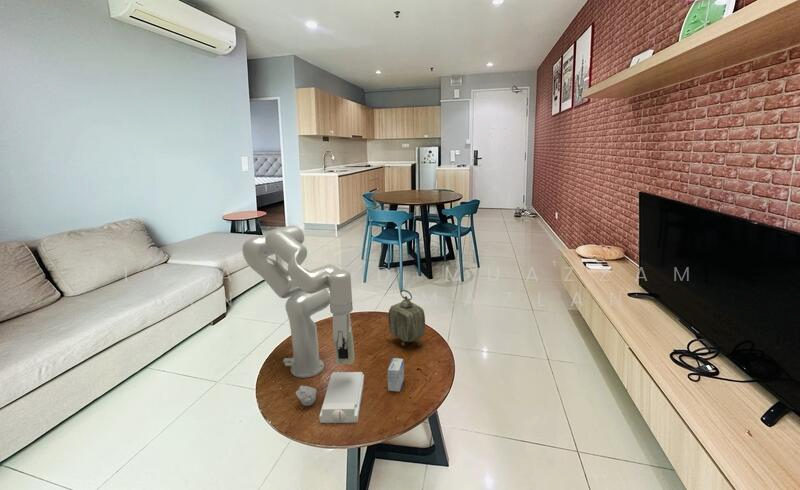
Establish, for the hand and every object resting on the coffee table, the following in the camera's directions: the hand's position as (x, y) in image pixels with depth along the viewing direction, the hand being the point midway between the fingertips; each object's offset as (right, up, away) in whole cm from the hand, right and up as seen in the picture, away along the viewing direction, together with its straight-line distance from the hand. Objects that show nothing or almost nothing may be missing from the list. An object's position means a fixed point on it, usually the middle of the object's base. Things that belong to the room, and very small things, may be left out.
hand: (344, 353), depth 134 cm
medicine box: (+18, -13, +5) cm, 23 cm away
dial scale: (0, -15, -2) cm, 15 cm away
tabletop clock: (+22, -5, +33) cm, 40 cm away
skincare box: (0, -3, +1) cm, 3 cm away
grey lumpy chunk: (-12, -16, -4) cm, 21 cm away
